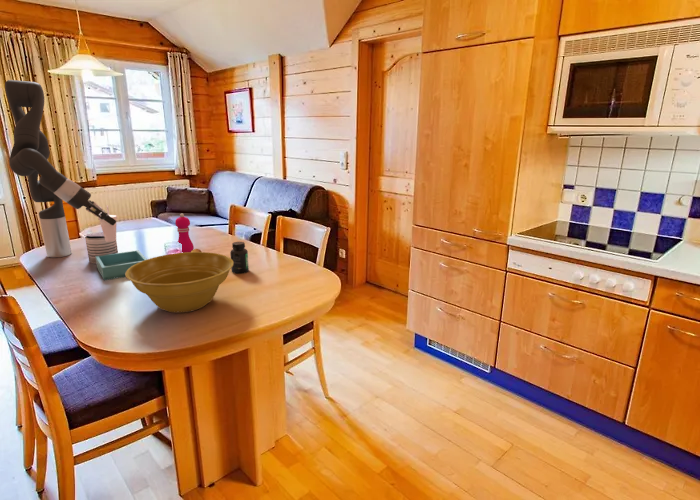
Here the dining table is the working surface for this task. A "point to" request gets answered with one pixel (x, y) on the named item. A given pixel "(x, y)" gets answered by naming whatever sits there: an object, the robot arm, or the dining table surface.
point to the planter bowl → (180, 279)
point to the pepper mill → (184, 233)
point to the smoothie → (108, 228)
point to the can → (99, 246)
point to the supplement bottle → (239, 258)
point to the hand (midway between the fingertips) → (113, 221)
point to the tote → (117, 263)
